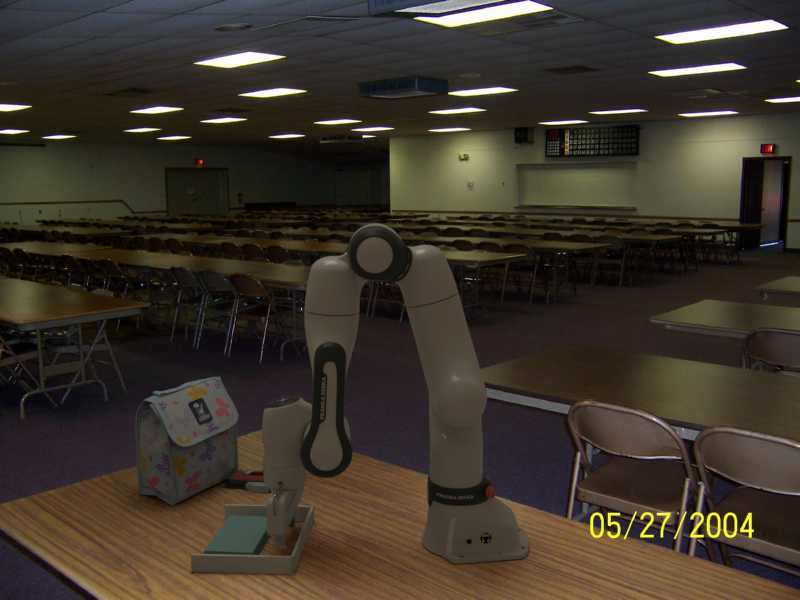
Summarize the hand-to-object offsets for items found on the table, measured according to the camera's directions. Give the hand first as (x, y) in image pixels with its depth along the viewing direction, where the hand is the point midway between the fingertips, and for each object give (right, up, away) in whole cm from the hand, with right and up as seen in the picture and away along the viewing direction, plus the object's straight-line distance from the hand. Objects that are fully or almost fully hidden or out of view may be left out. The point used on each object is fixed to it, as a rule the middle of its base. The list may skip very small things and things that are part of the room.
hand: (286, 536), depth 151 cm
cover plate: (-10, -2, +1) cm, 10 cm away
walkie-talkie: (-10, +2, +31) cm, 33 cm away
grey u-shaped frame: (-6, -2, +1) cm, 7 cm away
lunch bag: (-29, +2, +30) cm, 42 cm away
